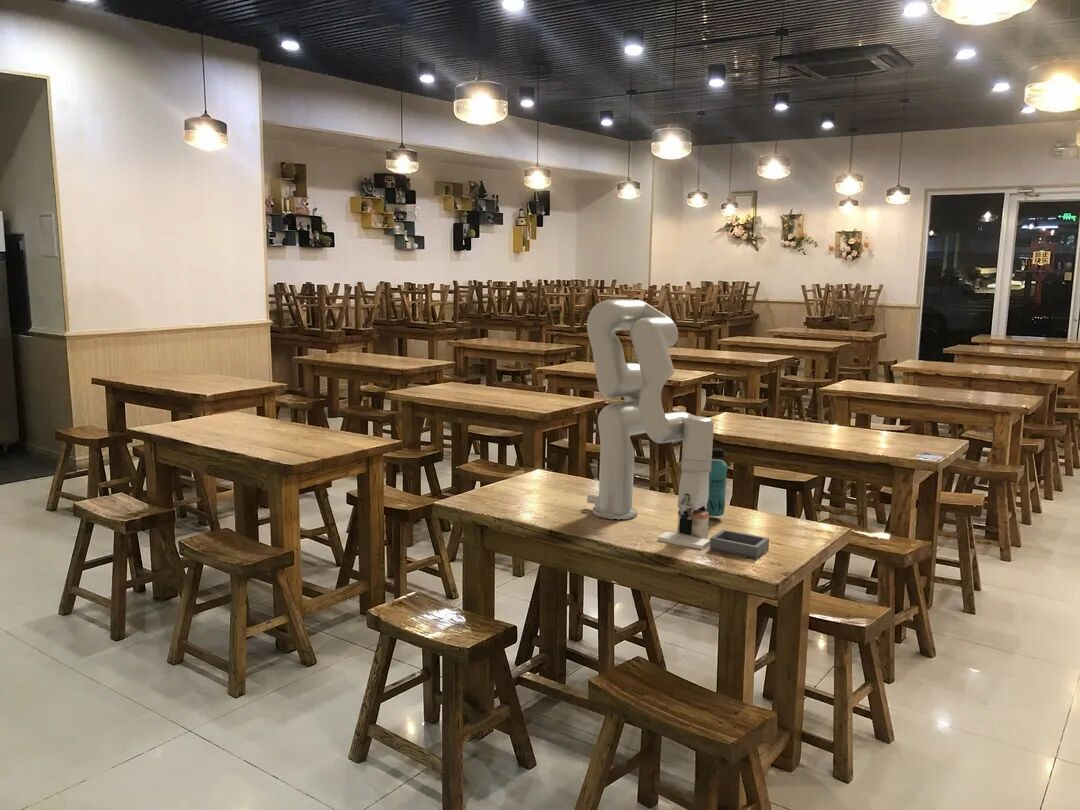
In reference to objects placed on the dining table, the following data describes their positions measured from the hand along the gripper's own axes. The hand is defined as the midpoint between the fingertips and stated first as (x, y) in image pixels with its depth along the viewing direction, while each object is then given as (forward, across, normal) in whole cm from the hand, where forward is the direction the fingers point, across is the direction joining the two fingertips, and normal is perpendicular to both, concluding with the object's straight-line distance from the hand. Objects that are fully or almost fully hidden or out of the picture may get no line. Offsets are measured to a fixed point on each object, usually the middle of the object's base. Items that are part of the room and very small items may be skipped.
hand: (692, 529), depth 222 cm
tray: (+2, +2, +14) cm, 14 cm away
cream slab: (+2, +5, 0) cm, 6 cm away
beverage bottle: (+2, -20, -2) cm, 20 cm away
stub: (+2, 0, 0) cm, 2 cm away
